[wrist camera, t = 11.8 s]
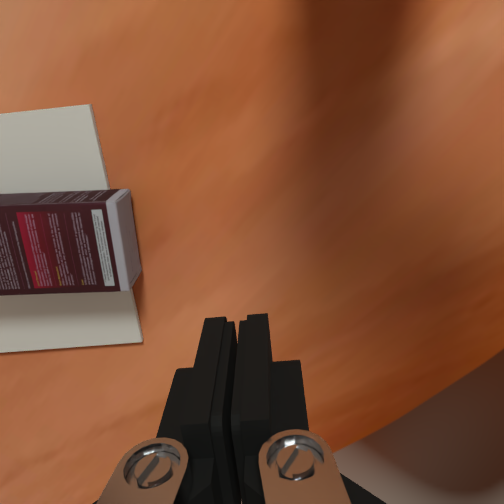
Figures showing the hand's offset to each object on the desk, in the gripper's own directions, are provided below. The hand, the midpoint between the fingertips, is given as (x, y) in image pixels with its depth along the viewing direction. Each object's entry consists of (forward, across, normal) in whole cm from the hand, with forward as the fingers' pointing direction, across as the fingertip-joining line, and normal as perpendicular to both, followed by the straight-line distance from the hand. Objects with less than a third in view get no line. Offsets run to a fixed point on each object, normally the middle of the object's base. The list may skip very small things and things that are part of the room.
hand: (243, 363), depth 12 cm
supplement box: (+28, +12, +6) cm, 31 cm away
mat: (+31, +22, +6) cm, 39 cm away
